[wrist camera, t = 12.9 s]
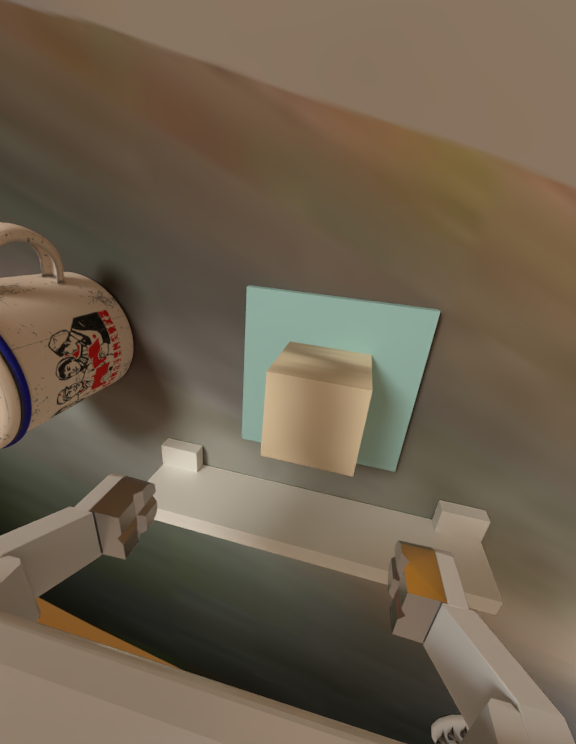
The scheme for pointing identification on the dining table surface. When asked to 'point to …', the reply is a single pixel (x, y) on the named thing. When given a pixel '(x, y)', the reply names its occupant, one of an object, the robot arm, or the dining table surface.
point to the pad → (345, 332)
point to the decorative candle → (449, 729)
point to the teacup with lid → (54, 340)
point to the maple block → (316, 407)
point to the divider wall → (317, 523)
